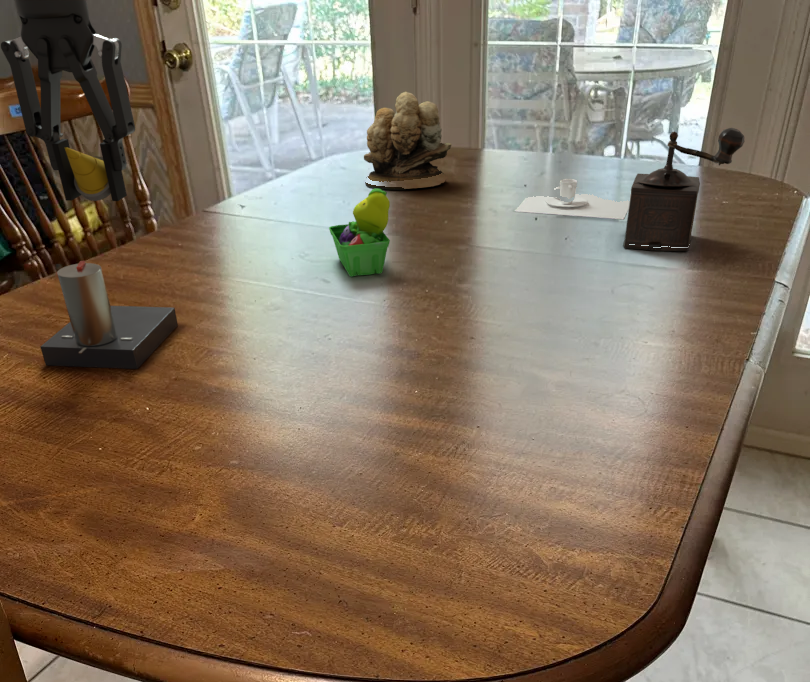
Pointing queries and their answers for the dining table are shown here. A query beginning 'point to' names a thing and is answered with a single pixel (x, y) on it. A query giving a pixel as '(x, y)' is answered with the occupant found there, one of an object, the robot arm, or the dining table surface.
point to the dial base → (128, 351)
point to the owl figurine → (405, 142)
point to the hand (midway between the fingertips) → (96, 197)
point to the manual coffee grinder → (671, 198)
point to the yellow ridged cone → (89, 175)
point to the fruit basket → (364, 236)
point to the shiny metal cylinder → (87, 303)
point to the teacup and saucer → (574, 204)
